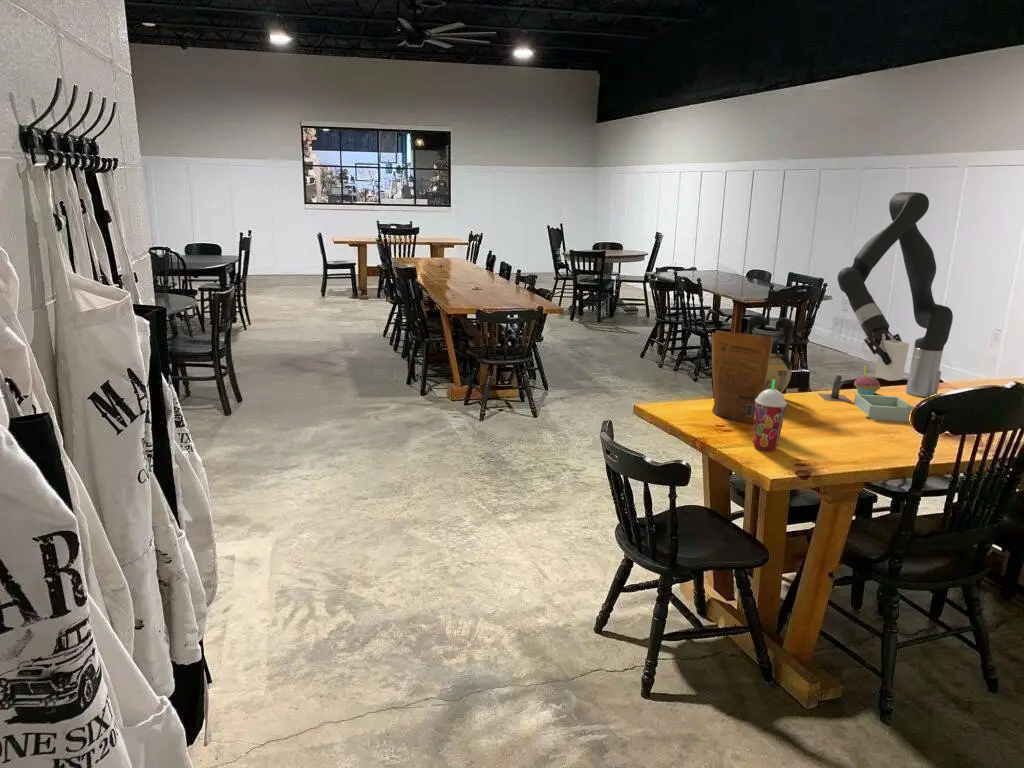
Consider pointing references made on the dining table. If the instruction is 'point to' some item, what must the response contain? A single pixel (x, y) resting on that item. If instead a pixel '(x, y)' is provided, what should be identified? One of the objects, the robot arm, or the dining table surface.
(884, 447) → the dining table surface
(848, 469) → the dining table surface
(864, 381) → the cupcake
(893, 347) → the sleeve
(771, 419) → the smoothie
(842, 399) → the base
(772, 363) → the amphora
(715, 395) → the pancake mix bag
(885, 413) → the tray
